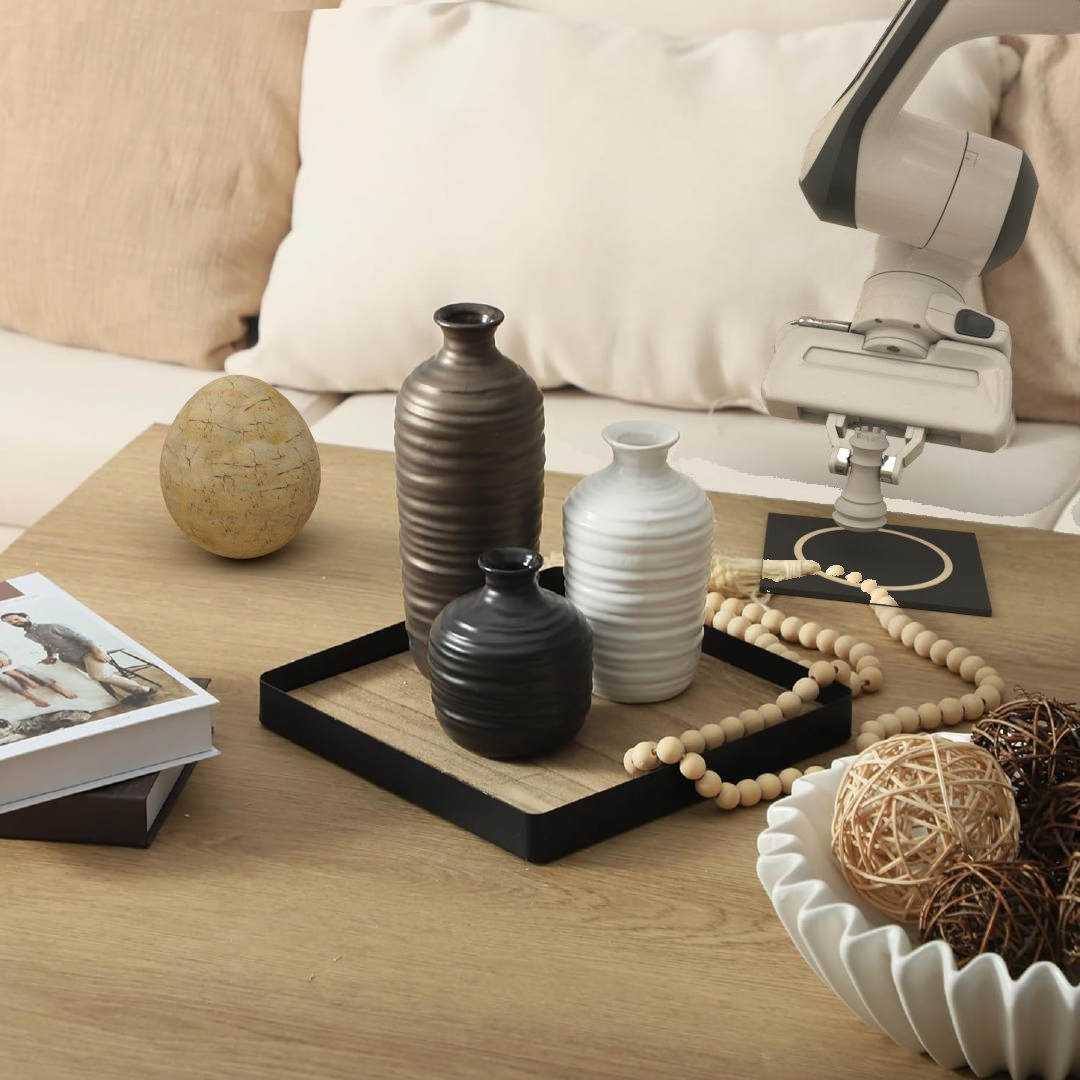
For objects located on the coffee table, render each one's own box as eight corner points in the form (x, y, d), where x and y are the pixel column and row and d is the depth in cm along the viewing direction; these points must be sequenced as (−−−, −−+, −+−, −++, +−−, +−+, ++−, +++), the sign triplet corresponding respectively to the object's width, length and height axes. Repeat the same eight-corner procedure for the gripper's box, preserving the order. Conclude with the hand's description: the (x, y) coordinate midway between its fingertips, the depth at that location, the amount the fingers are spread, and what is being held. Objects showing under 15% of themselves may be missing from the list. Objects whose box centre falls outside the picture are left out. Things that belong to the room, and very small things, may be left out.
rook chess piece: (851, 508, 124) (863, 418, 121) (896, 524, 121) (909, 432, 118) (820, 521, 121) (831, 429, 118) (866, 538, 118) (878, 444, 115)
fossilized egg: (242, 511, 130) (233, 345, 124) (354, 546, 123) (351, 373, 117) (132, 558, 120) (117, 380, 114) (248, 598, 113) (239, 412, 107)
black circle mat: (974, 538, 129) (975, 531, 129) (991, 617, 115) (992, 608, 115) (767, 518, 132) (768, 510, 132) (759, 592, 118) (759, 583, 117)
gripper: (779, 293, 124) (734, 436, 120) (1029, 327, 117) (990, 481, 113) (788, 332, 130) (745, 470, 126) (1027, 367, 122) (990, 516, 118)
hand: (863, 476), depth 119 cm, fingers closed on rook chess piece, 3 cm apart
